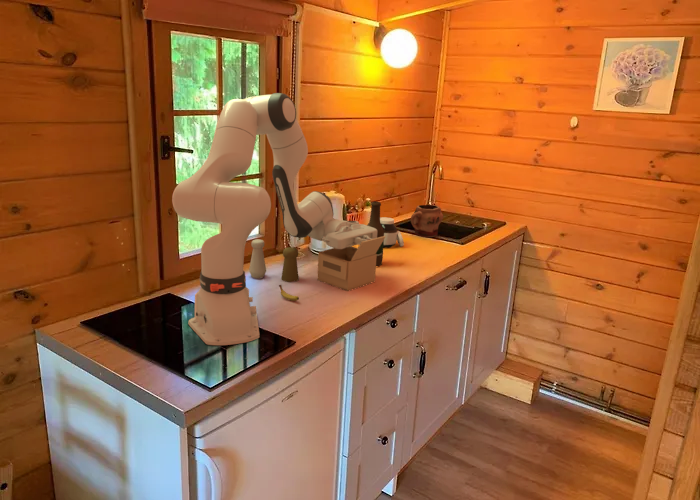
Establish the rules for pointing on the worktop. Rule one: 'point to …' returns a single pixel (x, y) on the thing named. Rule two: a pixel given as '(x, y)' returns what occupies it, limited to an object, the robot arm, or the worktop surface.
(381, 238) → the flap
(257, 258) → the salt shaker
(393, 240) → the spread jar
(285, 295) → the banana
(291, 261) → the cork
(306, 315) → the worktop surface
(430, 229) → the decorative planter
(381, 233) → the beer bottle
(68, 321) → the worktop surface
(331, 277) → the carton
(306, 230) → the robot arm
